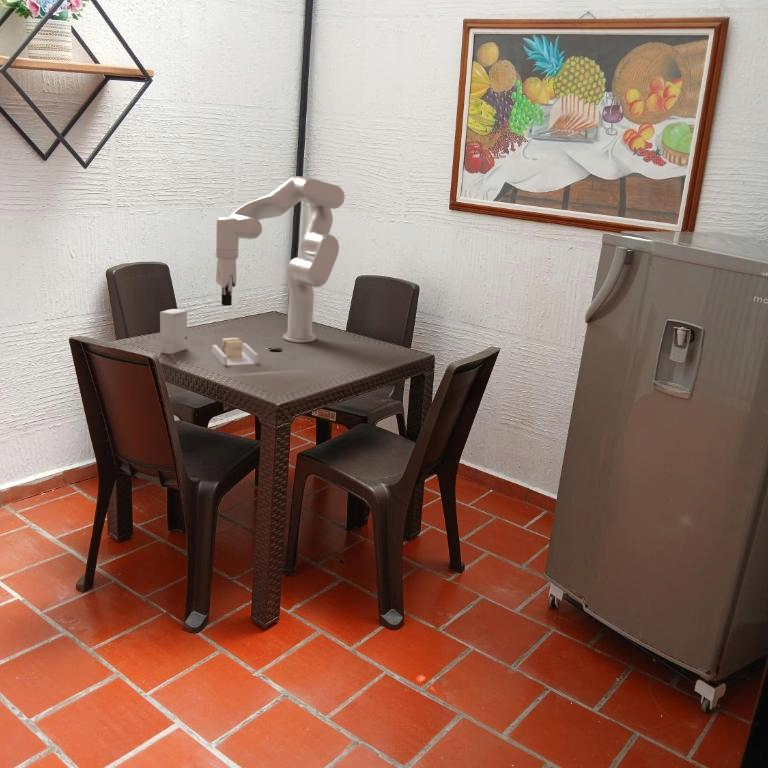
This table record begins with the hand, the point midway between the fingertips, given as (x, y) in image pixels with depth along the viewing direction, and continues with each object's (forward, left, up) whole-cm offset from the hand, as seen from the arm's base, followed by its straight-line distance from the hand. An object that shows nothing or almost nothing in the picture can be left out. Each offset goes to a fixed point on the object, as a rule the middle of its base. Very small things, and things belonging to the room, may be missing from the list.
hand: (226, 305), depth 285 cm
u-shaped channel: (+11, 0, -17) cm, 21 cm away
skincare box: (-3, -18, -17) cm, 25 cm away
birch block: (+8, 0, -16) cm, 18 cm away
